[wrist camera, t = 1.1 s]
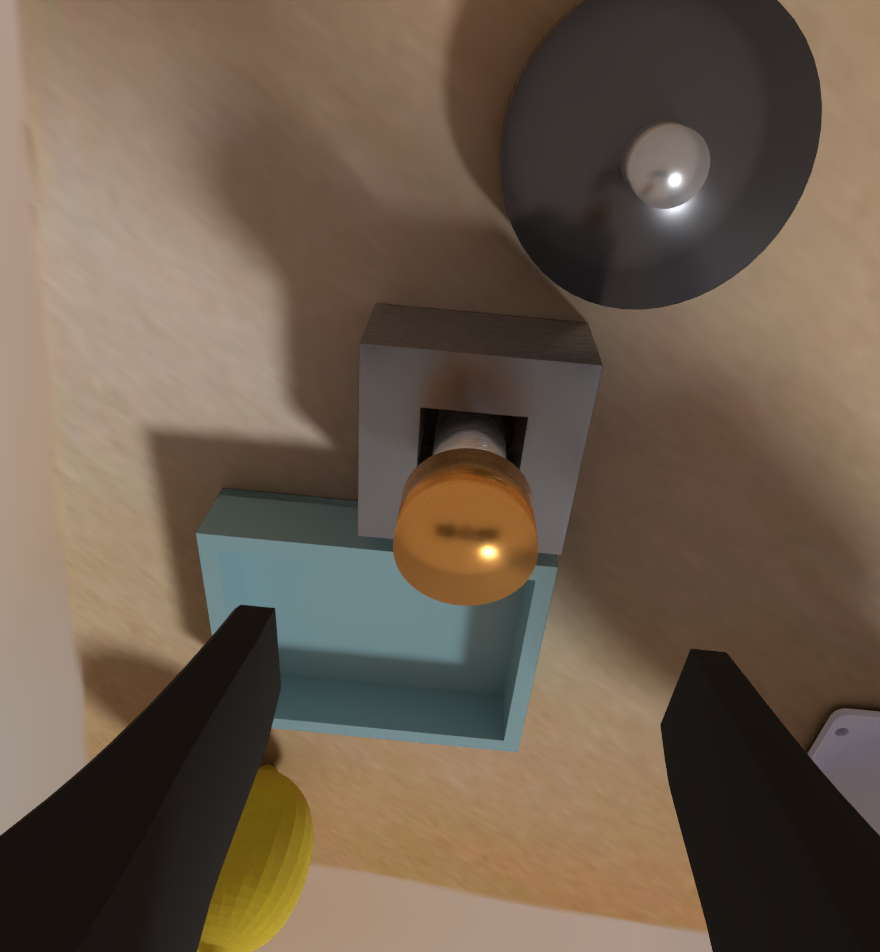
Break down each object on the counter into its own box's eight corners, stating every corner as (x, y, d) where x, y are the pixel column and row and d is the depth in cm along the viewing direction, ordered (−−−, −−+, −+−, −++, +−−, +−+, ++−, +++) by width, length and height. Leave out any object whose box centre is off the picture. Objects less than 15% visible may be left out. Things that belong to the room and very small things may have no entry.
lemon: (337, 742, 30) (293, 944, 23) (320, 810, 33) (277, 1005, 26) (213, 718, 30) (133, 915, 23) (207, 788, 33) (135, 982, 26)
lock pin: (516, 456, 22) (527, 611, 16) (416, 447, 22) (390, 598, 16) (530, 364, 20) (549, 499, 14) (422, 354, 20) (395, 485, 14)
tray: (515, 698, 28) (517, 751, 26) (245, 672, 28) (225, 723, 26) (551, 519, 23) (558, 567, 21) (222, 488, 23) (195, 533, 21)
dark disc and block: (674, 508, 22) (697, 567, 20) (372, 480, 22) (357, 535, 20) (841, -14, 15) (914, -25, 12) (383, -52, 15) (363, -72, 12)
